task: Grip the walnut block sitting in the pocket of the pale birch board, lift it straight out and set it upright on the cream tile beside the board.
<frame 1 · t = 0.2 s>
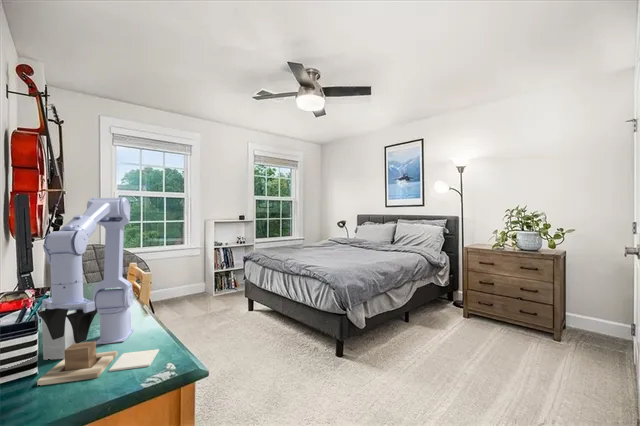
hand: (69, 339, 72), 10 cm above the table, tool pointing down, fingers open, 7 cm apart
tile: (135, 360, 81), on the table
skincare box: (60, 356, 85), on the table
walnut block: (81, 369, 77), resting in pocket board
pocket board: (81, 368, 77), on the table
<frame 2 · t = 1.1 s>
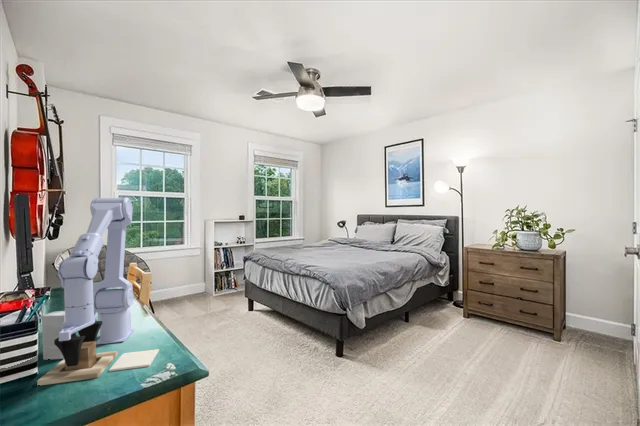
hand: (80, 358, 77), 3 cm above the table, tool pointing down, fingers open, 7 cm apart
nothing on the table moved.
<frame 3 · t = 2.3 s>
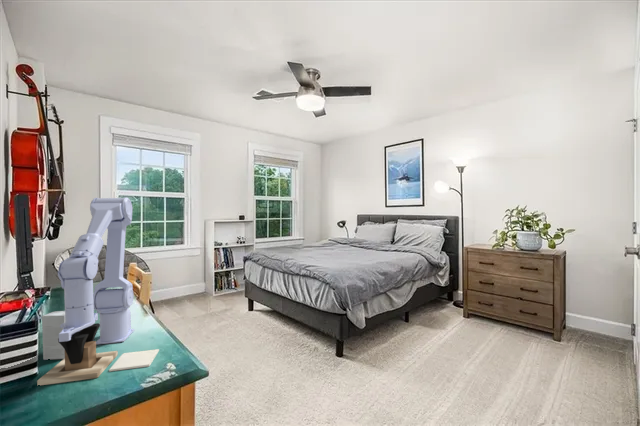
hand: (81, 358, 77), 3 cm above the table, tool pointing down, fingers closed on walnut block, 4 cm apart
walnut block: (81, 369, 77), resting in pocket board, touching gripper
everything else where it was.
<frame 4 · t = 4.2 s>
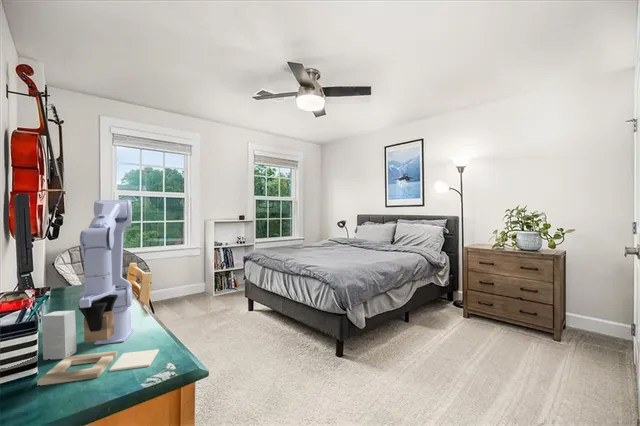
hand: (99, 327, 79), 10 cm above the table, tool pointing down, fingers closed on walnut block, 4 cm apart
walnut block: (99, 337, 79), point 7 cm above the table, touching gripper
everything else where it was.
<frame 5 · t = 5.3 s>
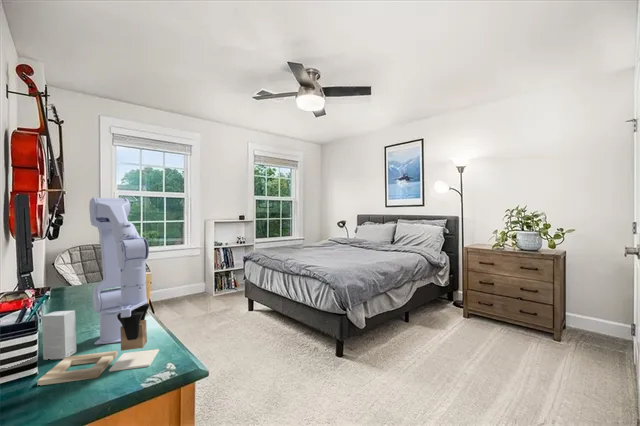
hand: (135, 335, 81), 7 cm above the table, tool pointing down, fingers closed on walnut block, 4 cm apart
walnut block: (134, 346, 81), point 4 cm above the table, touching gripper
everything else where it was.
when the fingers open (5 cm above the table, at t = 6.1 s): walnut block drops 1 cm, resting on tile.
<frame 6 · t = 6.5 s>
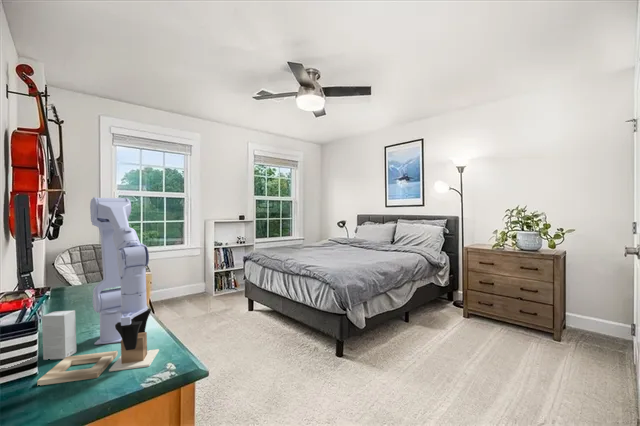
hand: (135, 343, 81), 5 cm above the table, tool pointing down, fingers open, 7 cm apart
walnut block: (134, 358, 81), resting on tile
everything else where it was.
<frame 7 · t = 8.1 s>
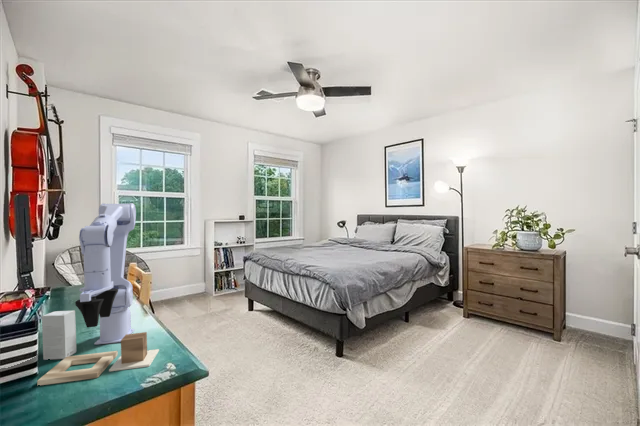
hand: (98, 321, 82), 10 cm above the table, tool pointing down, fingers open, 7 cm apart
nothing on the table moved.
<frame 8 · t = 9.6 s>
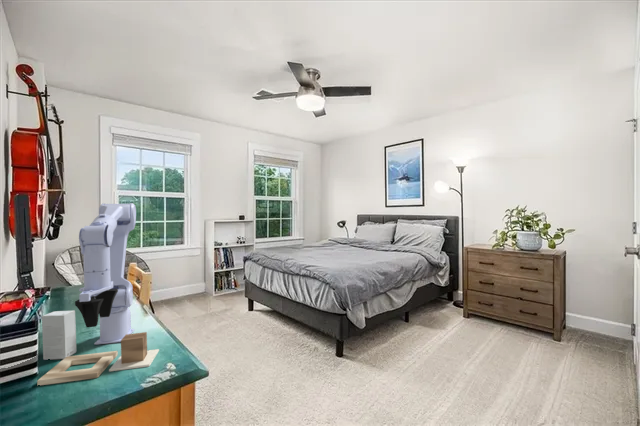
hand: (98, 321, 82), 10 cm above the table, tool pointing down, fingers open, 7 cm apart
nothing on the table moved.
at the end: walnut block 0.2 cm off-centre on the tile, point 0.5 cm above the tile's base; walnut block tilted 0°; the gripper is holding nothing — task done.
